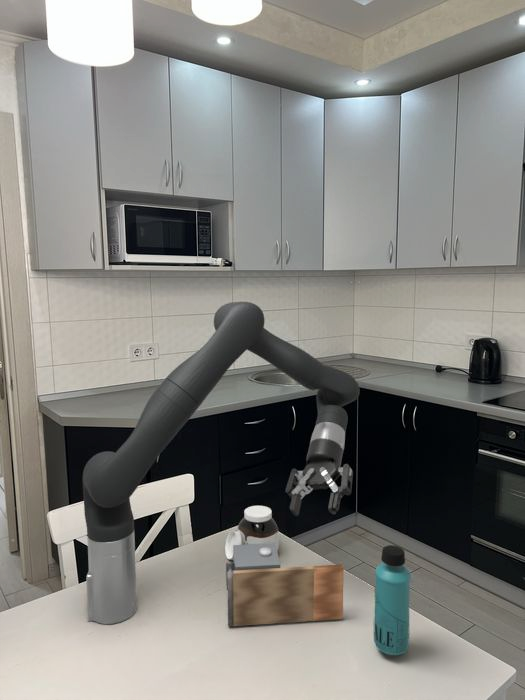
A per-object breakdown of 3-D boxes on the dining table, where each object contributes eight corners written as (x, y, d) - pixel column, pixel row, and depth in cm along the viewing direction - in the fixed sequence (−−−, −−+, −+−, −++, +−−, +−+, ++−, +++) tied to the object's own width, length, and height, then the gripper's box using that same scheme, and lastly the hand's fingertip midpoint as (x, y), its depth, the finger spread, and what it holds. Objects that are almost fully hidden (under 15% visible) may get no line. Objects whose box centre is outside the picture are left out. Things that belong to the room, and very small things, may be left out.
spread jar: (283, 556, 130) (283, 512, 128) (251, 574, 122) (251, 527, 120) (249, 540, 138) (249, 498, 137) (217, 556, 130) (216, 512, 129)
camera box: (227, 624, 104) (227, 563, 102) (226, 598, 112) (225, 541, 111) (280, 620, 105) (280, 560, 103) (274, 594, 113) (274, 539, 112)
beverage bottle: (410, 644, 98) (413, 543, 95) (407, 668, 91) (411, 560, 89) (374, 636, 100) (377, 537, 97) (370, 659, 94) (372, 554, 91)
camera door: (228, 626, 102) (227, 574, 101) (227, 622, 103) (227, 570, 102) (342, 618, 104) (343, 567, 103) (341, 615, 106) (342, 564, 104)
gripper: (291, 440, 117) (274, 504, 106) (349, 433, 110) (337, 501, 99) (305, 460, 121) (290, 523, 110) (362, 454, 114) (352, 522, 103)
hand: (312, 513), depth 105 cm, fingers open, 8 cm apart
